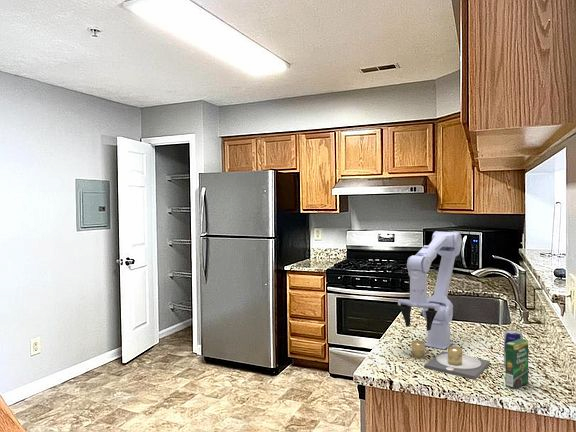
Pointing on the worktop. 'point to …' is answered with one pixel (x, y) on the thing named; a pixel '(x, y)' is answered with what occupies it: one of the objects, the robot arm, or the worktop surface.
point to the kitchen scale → (468, 368)
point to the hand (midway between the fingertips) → (418, 327)
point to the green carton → (516, 363)
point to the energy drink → (510, 339)
